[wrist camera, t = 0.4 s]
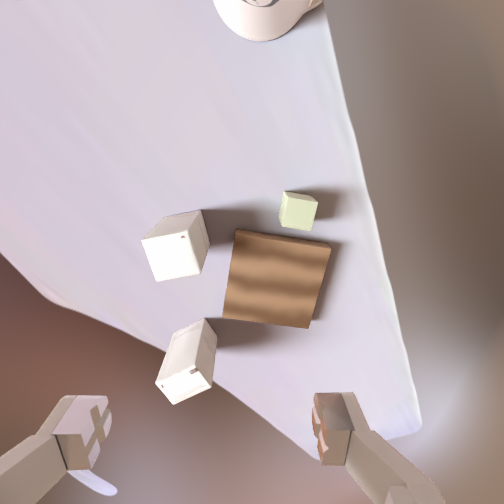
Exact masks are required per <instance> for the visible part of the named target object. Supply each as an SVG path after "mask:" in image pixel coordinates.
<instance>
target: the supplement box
mask: <svg viewBox="0 0 504 504" xmlns="http://www.w3.org/2000/svg"><path fill="white" fill-rule="evenodd" d="M142 243H143V246H144V249H145V252H146V254H147V257H148V260H149V263H150V265H151V268H152V271H153V274H154V276H155V279H156V281H157V282H158V281H163V280H168V279H173V278H179V277H185V276H192V275H198V274H201V271H202V268H203V265H204V262H205V258H206V255H207V252H208V249H209V246H210V243H209V238H208V235H207V231H206V227H205V223H204V220H203V216H202V212H201V210H198V211H193V212H187V213H182V214H177V215H172V216H167V217H164V218H163V219H162V220H161V221H160V222H159V223H158V224H157V225H156V226H155V227H154V228H153V229H152V230H151V231H150V232H149V233H148V234H147V235H146V236H145V237H144V238H143V239H142Z"/></svg>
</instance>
